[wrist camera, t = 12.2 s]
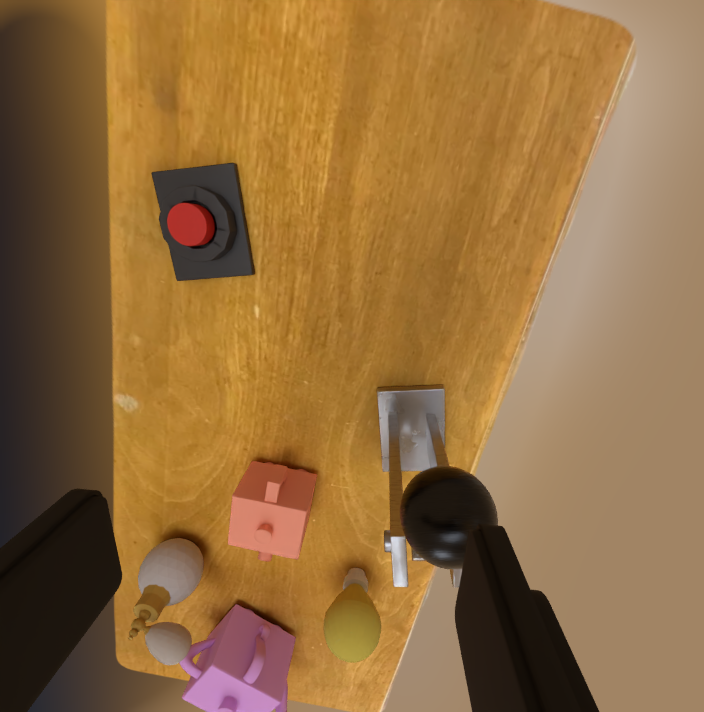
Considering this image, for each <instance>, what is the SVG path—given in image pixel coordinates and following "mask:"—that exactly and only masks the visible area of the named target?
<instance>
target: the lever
mask: <svg viewBox="0 0 704 712" xmlns="http://www.w3.org/2000/svg"><path fill="white" fill-rule="evenodd" d="M400 522H401V526H402V530H403V532H404V535H405V537H406V539H407V541H408V543H409V544H410V546H411V550H412V560H413V561H427V562H429V563H431V564H433V565H435V566H437V567H440V568H445V569H462V567H463V562H464V556H465V551H466V545H467V540H468V534H469V531H470V530H476V528H477V526H478V524H483V525H495V526H498V518H497V511H496V507H495V504H494V501H493V499H492V497H491V495H490V493H489V492H488V490H487V489H486V487H485V486H484V485H483V484H482V483H481V482H480V481H479V480H478V479H477V478H476V477H474V476H473V475H472V474H470V473H468V472H466V471H464V470H462V469H459V468H456V467H451V466H436V467H432V468H429V469H426V470H424V471H422V472H421V473H419V474H418V475H416V476H415V477H414V478H413V479H412V480H411V481H410V483H409V484H408V485H407V487H406V489H405V491H404V493H403V496H402V499H401V504H400Z"/></svg>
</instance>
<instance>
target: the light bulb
mask: <svg viewBox="0 0 704 712" xmlns="http://www.w3.org/2000/svg"><path fill="white" fill-rule="evenodd" d="M367 592H368V580H367V578H366V577H365V572H364V571H363V570H362V569H360V568H352V569H350V570H349V571H348V575H347V576H346V577H345V578H344V583H343V591H342V592H341V593H340V594H339V595H338V596H337V597H336V599H335V600H334V602H333V603H332V604H331V606H330V607H329V609H328V610H327V612H326V614H325V619H324V635H325V639H326V642H327V645H328V647H329V648H330V650H331V651H332V653H333V654H334V655H335V656H336V657H338V658H339V659H341V660H343V661H345V662H350V663H351V662H359V661H362V660H364V659H365V658H367V657H369V656H370V655H371V653H372V652H373V651H374V649H375V648H376V647H377V644H378V642H379V638H380V633H381V620H380V616H379V614H378V612H377V610H376V608H375V606H374V603H373V601H372V600H371V598H370V597H369V596H368V594H367Z"/></svg>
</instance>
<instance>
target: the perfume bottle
mask: <svg viewBox="0 0 704 712" xmlns="http://www.w3.org/2000/svg"><path fill="white" fill-rule="evenodd" d="M203 568H204V560H203V556H202V553H201V551H200V549H199V548H198V547H197V546H196V545H195V544H194V543H193V542H191V541H189V540H186V539H182V538H175V539H169V540H166V541H164V542H162V543H160V544H159V545H157V546H156V547H154V548H153V549H152V550H151V551H150V552H149V553H148V554H147V556H146V557H145V559H144V561H143V563H142V565H141V567H140V571H139V575H138V582H139V588H140V591H141V593H142V596H141V598H140V599H139V601H138V602H137V604H136V605H135V607H134V613H135V616H136V617H138V618H137V619H135V620H134V621H133V622H132V624H131V628H132V630H131V631H130V632H129V635H130V636H129V639H130V640H131V639H132V638H133V637H135V636H136V635H137V634H138V632H140V631H142V630H144V633H145V640H146V645H147V647H148V649H149V651H150V652H151V654H152V655H153V656H154V657H155V658H156V659H157V660H158V661H159V662H161V663H163V664H166V665H175V664H177V663H179V662H181V661H182V660H183V659H184V658H185V657H186V656H187V654H188V652H189V650H190V647H191V642H192V638H191V634H190V632H189V631H188V630H187V629H186V628H185V627H183V626H182V625H180V624H176V623H171V622H162V623H157V624H154V625H152V626H145V625H146V623H145V622H154V621H155V620H157V619H158V617H159V615H160V613H161V612H162V610H163V608H164V607H165V606H169V605H174V604H177V603H179V602H181V601H183V600H184V599H185V598H187V597H188V596H189V595H190V594H191V593H192V592H193V591H194V590H195V588H196V587H197V585H198V584H199V582H200V580H201V577H202V573H203Z"/></svg>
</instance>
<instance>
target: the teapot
mask: <svg viewBox="0 0 704 712" xmlns="http://www.w3.org/2000/svg"><path fill="white" fill-rule="evenodd" d="M295 639H296V637H294V636H292V635H291V634H289V633H287V632H285V631H284V630H282V628H281V627H280V626H278V625H273V624H271V623H269V622H268V621H266V620H264V619H262V618H261V617H259V616H257V615H255V614H254V612H253V611H252V610H250V609H245V608H243V607H241V606H239V605H238V604H235V606H234V607H233V608H232V609H231V610H230V611H229V613H228V614H227V615H226V616H225V617H224V618H223V619H222V621H221V622H220V623H219V624H218V625H217V626H216V627H215V629H214V630H213V631H212V632H211V633H210V634H209V636H208V638H207V640H204V641H201V642H198V643H195V644H193V645H191V647H190V650H189V652H188V654H187V656H186V657H185V658H184V659H183V660H182V661H181V662H179V663H180V665H181V667H182V668H183V669H184V670H185V671H186V672H187V673H188V674H190V675H191V677H190V680H189V682H188V684H187V687H186V689H185V691H184V694H183V696H182V699H184V700H186V701H187V702H189V703H191V704H193V705H195V706H197V707H199V708H201V709H203V710H205V711H206V712H271V711H272V710H273V709H274V708H275V709H276V712H287V694H288V686H287V675H288V671H289V666H290V662H291V657H292V652H293V648H294V643H295ZM201 651H202V652H201ZM200 652H201V654H200V656H199V659H198V661H197V663H196V665H195V664H194V663H193V661H192V659H193V657H194V656H195V655H197V654H198V653H200Z"/></svg>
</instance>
